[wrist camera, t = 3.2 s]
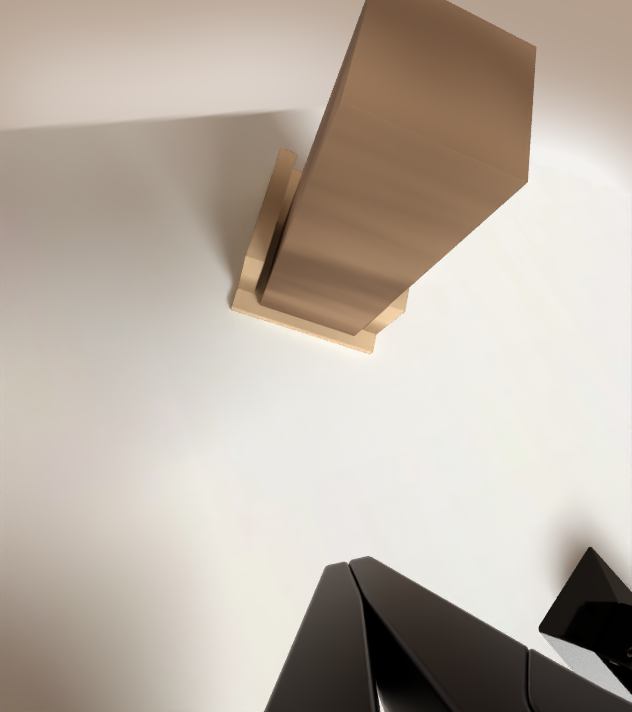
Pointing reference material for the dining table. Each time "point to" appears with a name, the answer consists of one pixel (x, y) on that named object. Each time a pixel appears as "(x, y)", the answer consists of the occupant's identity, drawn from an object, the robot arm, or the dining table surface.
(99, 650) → the dining table surface
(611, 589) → the black blocky device
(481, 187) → the walnut block
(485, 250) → the dining table surface
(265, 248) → the chute
